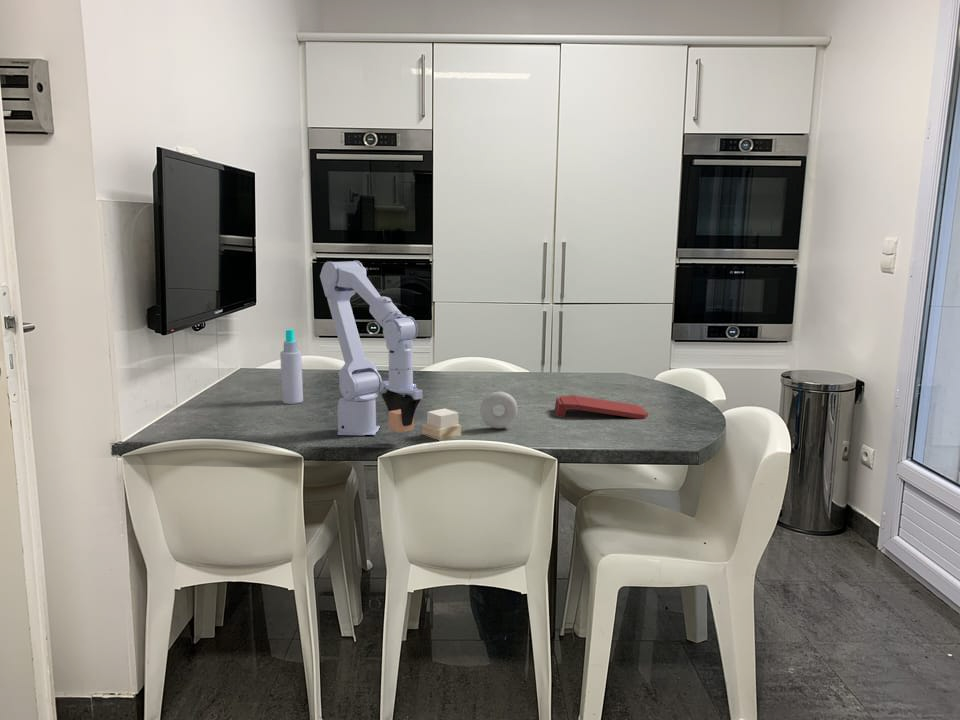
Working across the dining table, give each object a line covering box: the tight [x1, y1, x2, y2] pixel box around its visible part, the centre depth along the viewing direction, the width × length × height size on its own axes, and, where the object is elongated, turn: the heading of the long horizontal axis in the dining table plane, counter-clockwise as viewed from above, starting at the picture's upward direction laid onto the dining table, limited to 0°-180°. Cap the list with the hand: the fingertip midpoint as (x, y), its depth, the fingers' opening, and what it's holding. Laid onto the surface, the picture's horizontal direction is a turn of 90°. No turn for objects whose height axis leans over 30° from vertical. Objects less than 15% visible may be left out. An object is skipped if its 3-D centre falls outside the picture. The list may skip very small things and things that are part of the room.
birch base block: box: [421, 422, 462, 441], centre depth 185 cm, size 7×7×3 cm
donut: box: [479, 391, 519, 430], centre depth 191 cm, size 10×4×10 cm, turn 96°
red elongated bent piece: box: [554, 394, 649, 420], centre depth 209 cm, size 12×5×25 cm
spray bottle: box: [279, 328, 304, 405], centre depth 218 cm, size 6×6×22 cm
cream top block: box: [426, 407, 459, 429], centre depth 184 cm, size 6×6×3 cm
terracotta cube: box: [387, 409, 415, 434], centre depth 177 cm, size 4×4×4 cm
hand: (401, 423), depth 177 cm, fingers closed on terracotta cube, 4 cm apart
